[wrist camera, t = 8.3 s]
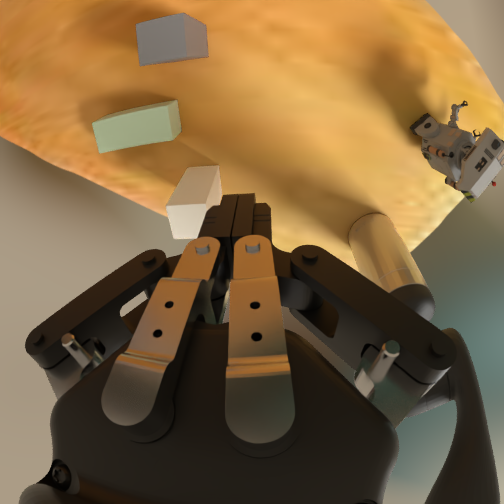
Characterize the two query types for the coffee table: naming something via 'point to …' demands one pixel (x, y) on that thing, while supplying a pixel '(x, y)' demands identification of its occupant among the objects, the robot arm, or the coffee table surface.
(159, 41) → the slate grey pillar
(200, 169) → the off white pillar
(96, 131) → the sage green pillar
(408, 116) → the coffee table surface
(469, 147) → the figurine
